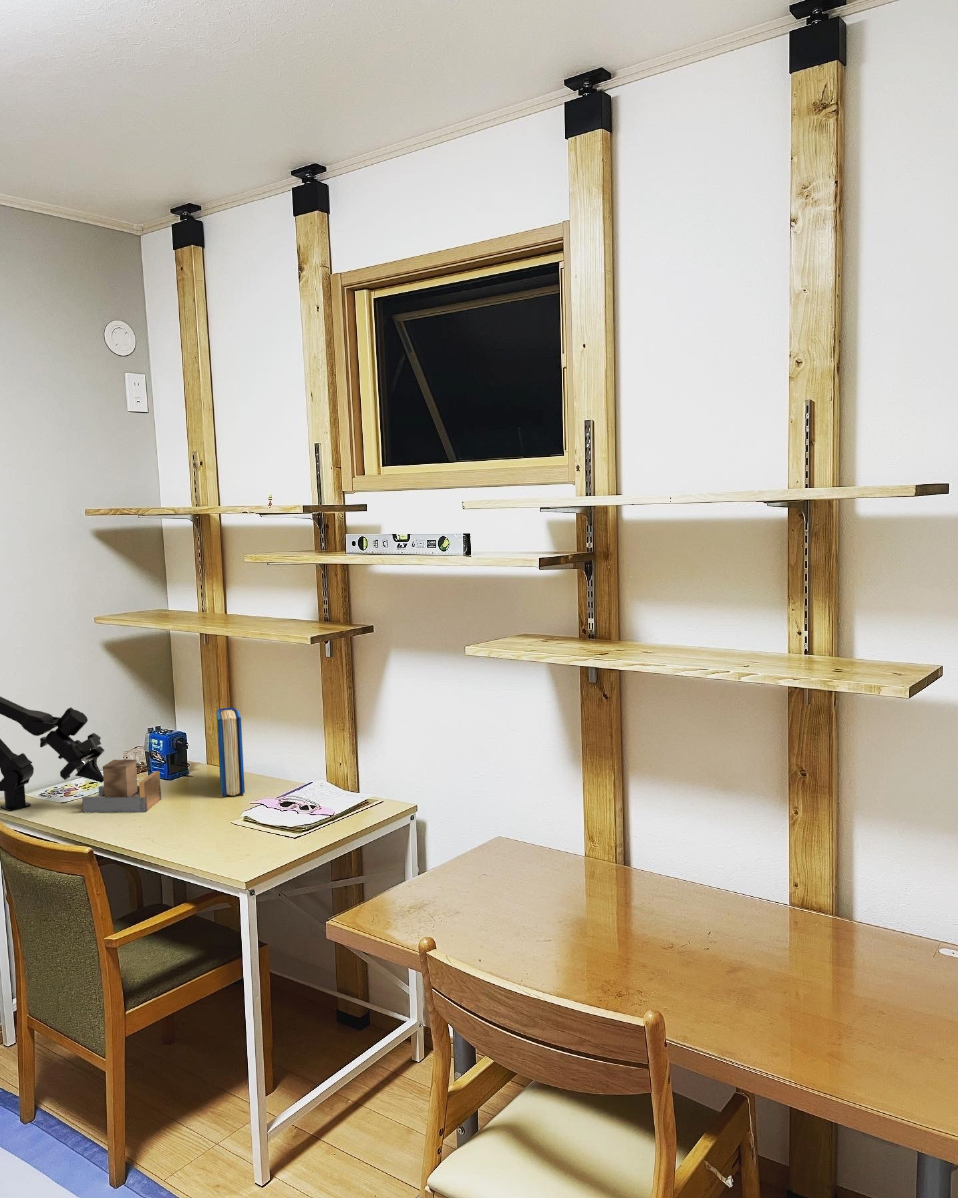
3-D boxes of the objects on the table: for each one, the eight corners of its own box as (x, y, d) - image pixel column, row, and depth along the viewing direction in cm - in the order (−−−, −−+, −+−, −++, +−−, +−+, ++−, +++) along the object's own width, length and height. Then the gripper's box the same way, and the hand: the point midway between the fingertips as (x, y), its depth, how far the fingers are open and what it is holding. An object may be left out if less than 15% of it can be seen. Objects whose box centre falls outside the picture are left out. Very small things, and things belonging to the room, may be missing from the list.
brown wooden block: (104, 799, 287) (102, 766, 286) (115, 791, 294) (113, 759, 293) (127, 799, 286) (125, 766, 285) (138, 791, 294) (136, 759, 293)
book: (219, 779, 316) (215, 705, 313) (241, 777, 318) (237, 703, 315) (221, 798, 295) (217, 719, 293) (245, 796, 297) (241, 717, 295)
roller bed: (83, 812, 285) (81, 783, 284) (101, 800, 296) (99, 771, 296) (145, 812, 284) (144, 782, 283) (161, 799, 295) (159, 771, 295)
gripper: (67, 734, 279) (106, 771, 279) (96, 720, 297) (133, 754, 298) (43, 761, 280) (82, 797, 281) (73, 745, 299) (110, 779, 299)
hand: (103, 781), depth 290 cm, fingers closed
